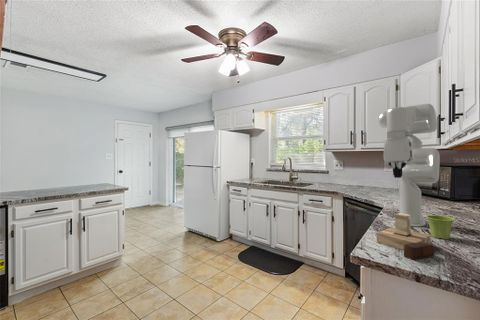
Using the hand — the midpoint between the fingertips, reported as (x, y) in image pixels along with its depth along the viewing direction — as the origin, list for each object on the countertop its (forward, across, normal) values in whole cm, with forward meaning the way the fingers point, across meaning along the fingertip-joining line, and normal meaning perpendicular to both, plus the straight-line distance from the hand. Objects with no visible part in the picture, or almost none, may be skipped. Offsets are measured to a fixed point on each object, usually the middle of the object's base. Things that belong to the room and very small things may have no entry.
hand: (397, 177), depth 100 cm
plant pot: (+27, -10, -16) cm, 33 cm away
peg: (+27, -4, +6) cm, 28 cm away
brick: (+27, -12, +15) cm, 34 cm away
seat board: (+27, -4, +6) cm, 28 cm away
